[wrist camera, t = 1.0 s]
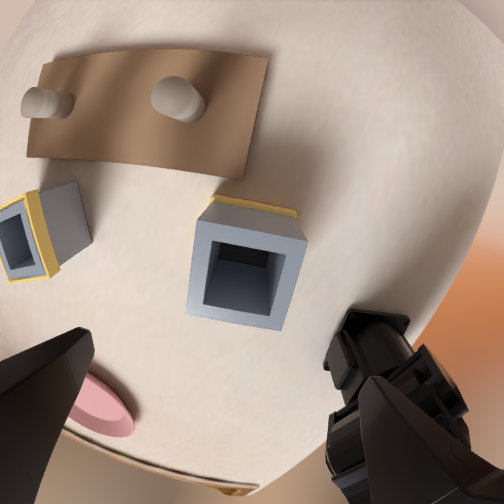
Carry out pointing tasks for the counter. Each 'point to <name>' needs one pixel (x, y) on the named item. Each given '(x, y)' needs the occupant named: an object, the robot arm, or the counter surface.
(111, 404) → the plate
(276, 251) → the sleeve band down
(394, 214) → the counter surface
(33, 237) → the sleeve band up
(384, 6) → the counter surface
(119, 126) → the pin board
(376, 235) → the counter surface
